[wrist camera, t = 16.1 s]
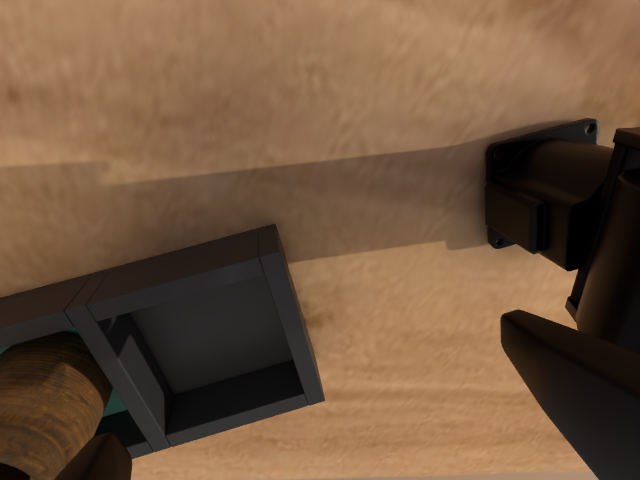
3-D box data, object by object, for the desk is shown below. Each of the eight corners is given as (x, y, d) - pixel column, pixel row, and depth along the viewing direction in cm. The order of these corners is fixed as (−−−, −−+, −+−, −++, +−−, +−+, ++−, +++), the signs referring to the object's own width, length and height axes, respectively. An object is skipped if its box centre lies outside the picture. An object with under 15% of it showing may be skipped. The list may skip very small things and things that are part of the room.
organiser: (275, 223, 21) (279, 251, 17) (315, 358, 25) (325, 401, 22) (-79, 319, 19) (-146, 368, 16) (27, 443, 24) (-9, 502, 20)
